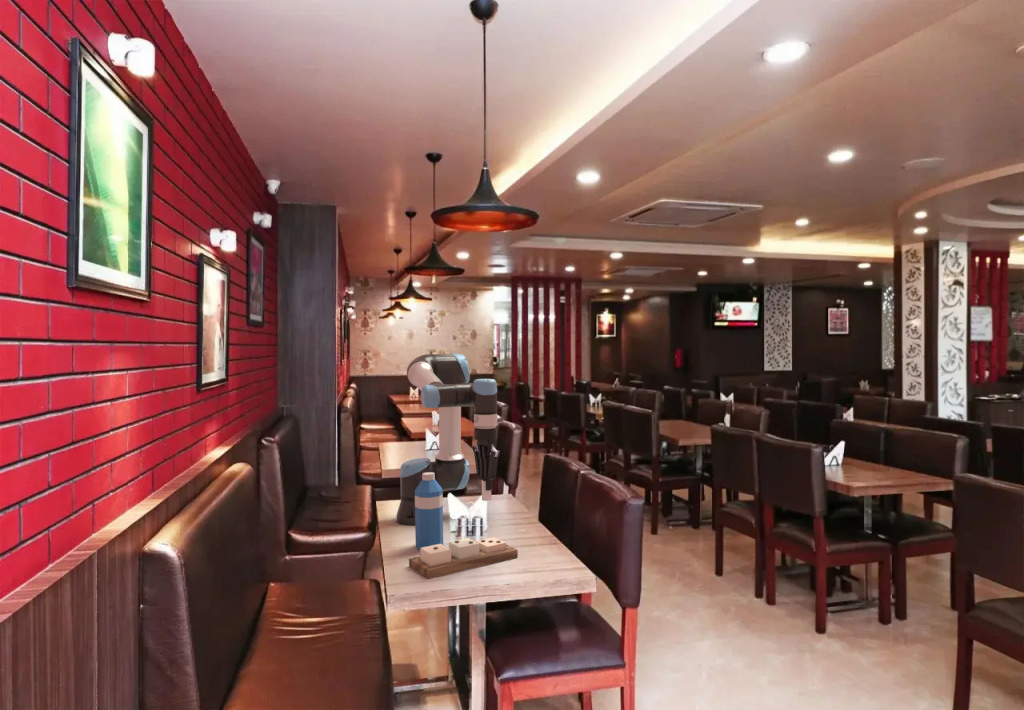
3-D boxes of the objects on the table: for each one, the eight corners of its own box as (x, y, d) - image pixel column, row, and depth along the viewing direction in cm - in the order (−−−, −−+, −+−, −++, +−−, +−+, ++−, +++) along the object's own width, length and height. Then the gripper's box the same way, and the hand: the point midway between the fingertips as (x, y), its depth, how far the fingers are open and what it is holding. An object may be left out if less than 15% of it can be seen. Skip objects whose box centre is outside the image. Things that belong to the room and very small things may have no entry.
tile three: (476, 553, 213) (475, 540, 213) (494, 549, 217) (494, 536, 217) (487, 559, 207) (487, 545, 207) (505, 554, 211) (505, 541, 211)
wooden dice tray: (409, 566, 203) (408, 558, 203) (495, 546, 221) (495, 539, 221) (428, 578, 192) (428, 570, 192) (517, 557, 210) (517, 549, 210)
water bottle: (449, 545, 223) (447, 472, 223) (431, 553, 216) (430, 477, 215) (428, 541, 229) (426, 469, 228) (409, 548, 221) (408, 474, 220)
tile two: (449, 554, 208) (448, 540, 207) (468, 550, 212) (467, 536, 211) (460, 560, 202) (459, 546, 202) (479, 555, 206) (479, 542, 206)
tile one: (420, 560, 202) (420, 546, 202) (440, 556, 206) (440, 542, 206) (430, 567, 196) (430, 552, 196) (451, 562, 200) (451, 548, 200)
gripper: (465, 425, 214) (466, 497, 214) (486, 430, 203) (487, 505, 204) (484, 423, 218) (485, 494, 219) (506, 428, 207) (507, 502, 208)
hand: (486, 499), depth 211 cm, fingers closed
